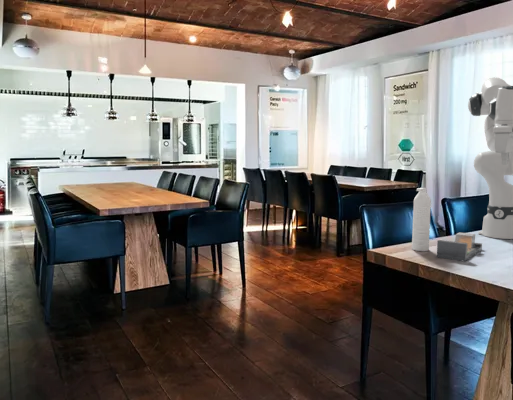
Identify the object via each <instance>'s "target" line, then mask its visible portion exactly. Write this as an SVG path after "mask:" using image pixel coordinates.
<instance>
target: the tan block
mask: <svg viewBox="0 0 513 400" xmlns="http://www.w3.org/2000/svg"><path fill="white" fill-rule="evenodd" d="M454 242H460V243H468V244H467V248H469V249H472V248H473V247H475V243H476V234H475V233H467V232H457V233H455V240H454Z"/></svg>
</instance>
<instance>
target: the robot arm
mask: <svg viewBox="0 0 513 400" xmlns="http://www.w3.org/2000/svg"><path fill="white" fill-rule="evenodd" d="M467 107H468V111H469V112H470V114H471V115H472V116H473V117H481V116H486V117H485V119H484V133H485V134H484V135H485V140H486V144H487V147H488V149H489V151H488V150H487V151H483V152H478V153H477V154H476V156H475V157H474V159H473V167H474V170H475V171H476V172H477V173H478V174H479V175H480V176H481V177H482V178H483V180H485V181H486V184H487V186H488V193H489V194H488V197H489V201H488V205H487V208H486V209H487V214H486V215H484V216H483V221H482V229H481V230H479V231H478V233H477V234H478V235H481V236H484V237H487V238H494V239H503V240H513V184H511V183H509V182H506V180H505V176H513V85H510V84H509V83H507V82H506V81H505V80H503V78H500V77H496V76H495V77H490V78H488V79H487V80H485V81H484V82H483V84H482V87H481V92H478V91H477V92H475V93H474V94H473V95H471V96H470V97H469V99H468V103H467Z"/></svg>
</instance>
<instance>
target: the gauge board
mask: <svg viewBox="0 0 513 400" xmlns="http://www.w3.org/2000/svg"><path fill="white" fill-rule="evenodd" d="M436 243H437V247H436V257H437V258H440V259H447V260H455V261H460V262H466V261H467V260H469V259H471V258H473V256H475V255H477V253H479V252H480V251H482V250H483V243H480V242H475V247H473V248H472V249H469V248H467V244H468V243H460V242H455V241H450V240H443V239H442V240H441V239H438V240H437V242H436Z"/></svg>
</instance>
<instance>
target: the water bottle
mask: <svg viewBox="0 0 513 400" xmlns="http://www.w3.org/2000/svg"><path fill="white" fill-rule="evenodd" d="M416 192H418V193H417V194H416V195H415V197H414V199H413V212H412V213H413V214H412V232H411V235H412V238H411V250H413V251H416V252H428V251H429V250H430V234H431V233H430V229H431V226H430V224H431V210H432V209H431V208H432V207H431V206H432V199H431V197H430V196H429V194H428V193H427V188H426V187H418V188H416Z"/></svg>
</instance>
